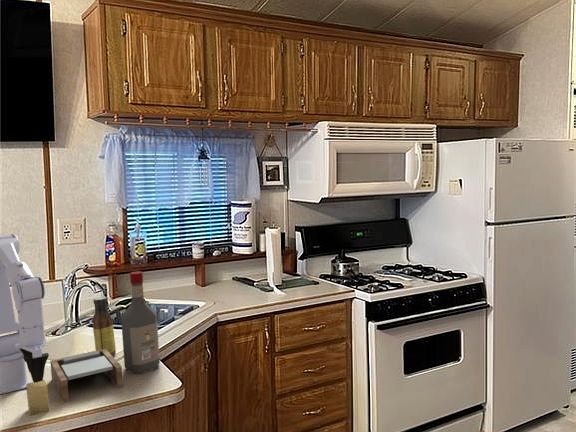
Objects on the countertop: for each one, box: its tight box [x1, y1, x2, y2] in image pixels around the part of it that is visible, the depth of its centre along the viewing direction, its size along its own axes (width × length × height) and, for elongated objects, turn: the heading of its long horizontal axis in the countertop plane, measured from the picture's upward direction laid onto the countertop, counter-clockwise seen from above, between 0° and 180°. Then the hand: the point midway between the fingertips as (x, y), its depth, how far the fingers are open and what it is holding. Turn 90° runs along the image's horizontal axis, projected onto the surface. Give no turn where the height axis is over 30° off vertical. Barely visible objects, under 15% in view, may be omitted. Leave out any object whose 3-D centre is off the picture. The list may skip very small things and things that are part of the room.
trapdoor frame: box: [49, 349, 124, 403], centre depth 152 cm, size 18×16×6 cm
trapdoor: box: [61, 350, 113, 381], centre depth 151 cm, size 14×12×3 cm
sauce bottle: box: [92, 296, 117, 357], centre depth 172 cm, size 6×6×20 cm
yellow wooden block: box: [25, 379, 50, 417], centre depth 136 cm, size 4×4×7 cm
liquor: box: [120, 270, 161, 374], centre depth 161 cm, size 9×9×30 cm
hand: (35, 376), depth 135 cm, fingers open, 7 cm apart
